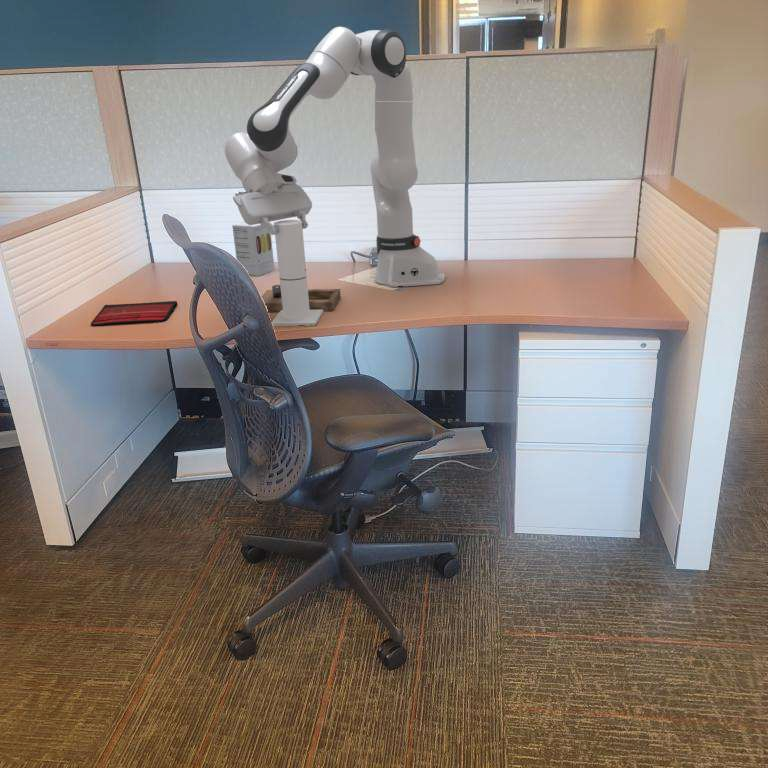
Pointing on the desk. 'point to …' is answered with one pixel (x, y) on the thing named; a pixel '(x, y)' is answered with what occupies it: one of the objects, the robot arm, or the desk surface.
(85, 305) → the desk surface
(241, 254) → the supplement box
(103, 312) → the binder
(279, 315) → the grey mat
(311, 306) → the walnut board
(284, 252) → the cylindrical container
